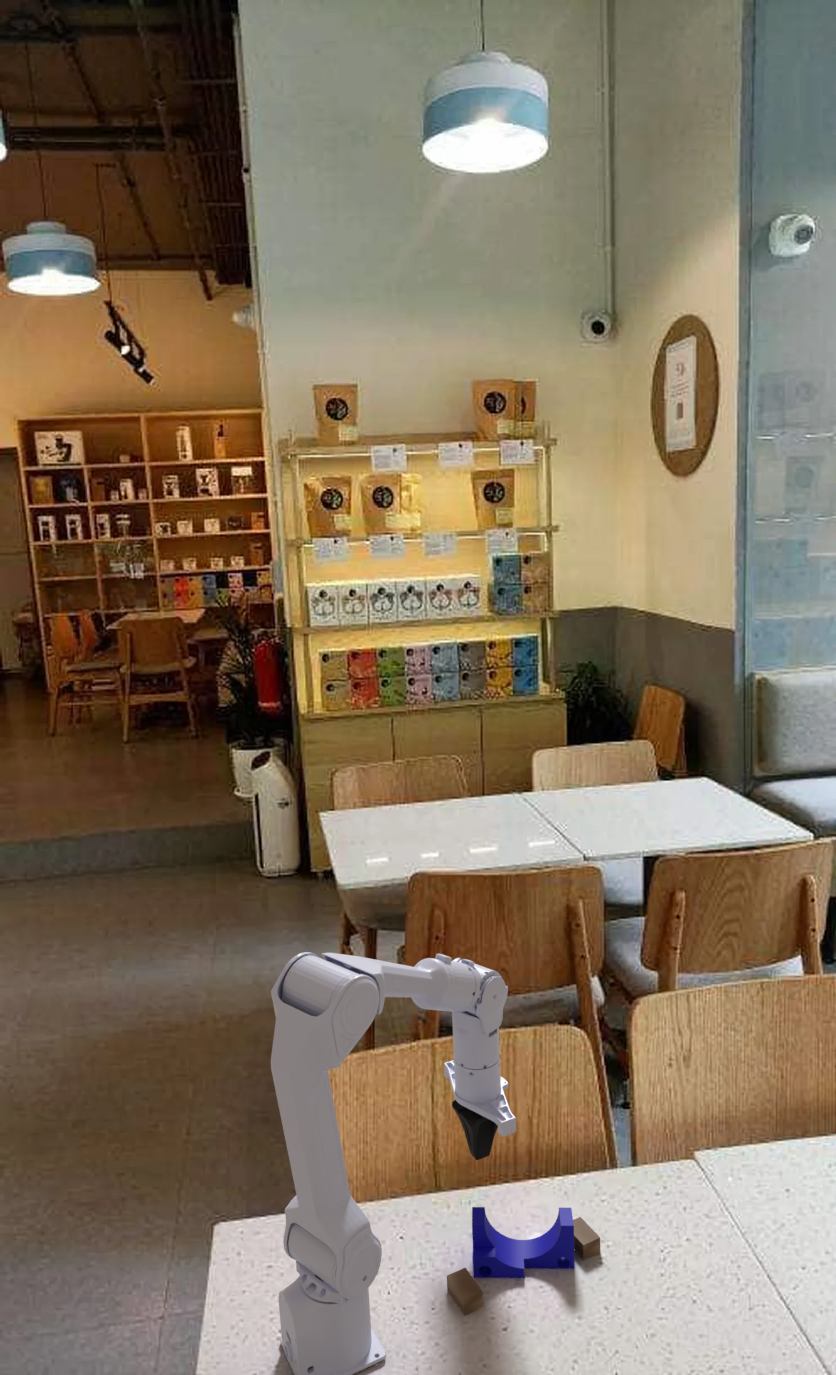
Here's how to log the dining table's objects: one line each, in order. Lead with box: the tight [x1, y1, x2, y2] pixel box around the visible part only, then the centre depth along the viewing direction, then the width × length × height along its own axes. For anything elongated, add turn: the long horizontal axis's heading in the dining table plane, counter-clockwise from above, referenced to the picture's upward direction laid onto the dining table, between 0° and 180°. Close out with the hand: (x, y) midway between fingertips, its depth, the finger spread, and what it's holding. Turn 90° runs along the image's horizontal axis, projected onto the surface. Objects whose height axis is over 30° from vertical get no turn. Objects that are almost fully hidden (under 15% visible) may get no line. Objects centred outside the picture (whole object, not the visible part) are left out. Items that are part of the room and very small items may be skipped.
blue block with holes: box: [471, 1206, 575, 1279], centre depth 114 cm, size 12×4×6 cm, turn 86°
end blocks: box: [446, 1216, 601, 1316], centre depth 113 cm, size 19×4×2 cm, turn 117°
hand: (480, 1154), depth 120 cm, fingers closed
